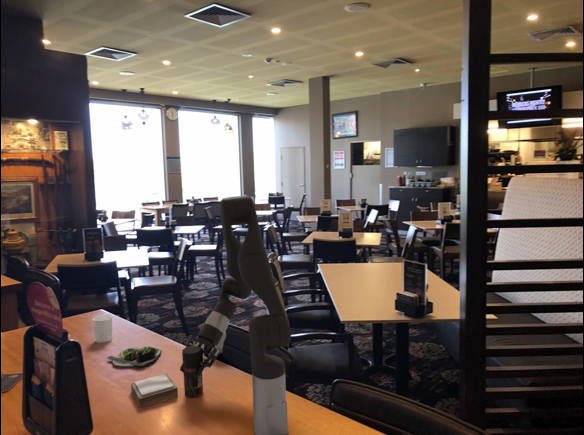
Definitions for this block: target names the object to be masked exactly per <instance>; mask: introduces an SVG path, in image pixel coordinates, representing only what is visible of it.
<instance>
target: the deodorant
mask: <svg viewBox="0 0 584 435" xmlns="http://www.w3.org/2000/svg"><path fill="white" fill-rule="evenodd" d="M181 351H182V352H181V354H182V356H181V357H182V364H183V372H182V373H183V386H184V388H183V389H184V396H185V397H186V398H187V399H189V398H190V399H195V398H199V397H201V396H202V395H203V394H204V385H203V383H204V382H203V373H202V374H201V375H200V377H199V378H195V377H194V376H193V374H194V372H195V370H196V368H197V366H198V365H200V359H201V348H200V347H198V346H190V347H186V346H185V347H184V348H183V349H182V350H181Z"/></svg>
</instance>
